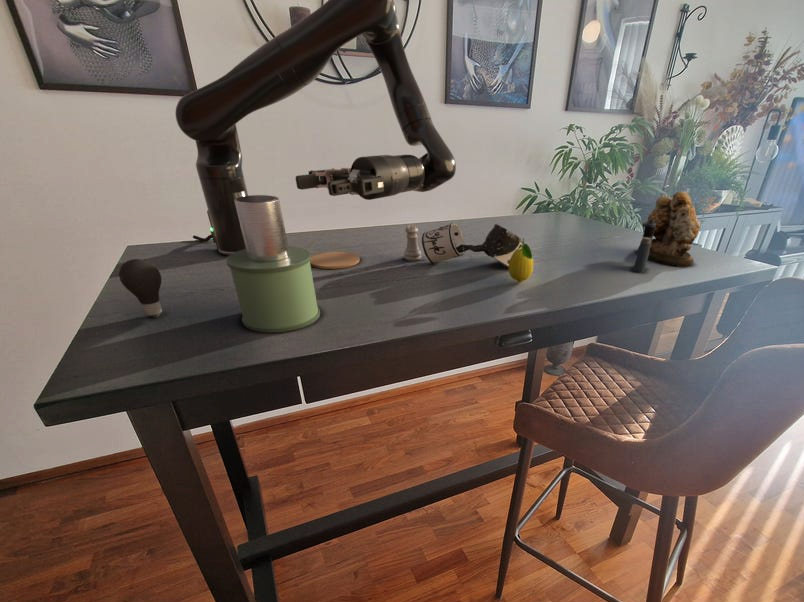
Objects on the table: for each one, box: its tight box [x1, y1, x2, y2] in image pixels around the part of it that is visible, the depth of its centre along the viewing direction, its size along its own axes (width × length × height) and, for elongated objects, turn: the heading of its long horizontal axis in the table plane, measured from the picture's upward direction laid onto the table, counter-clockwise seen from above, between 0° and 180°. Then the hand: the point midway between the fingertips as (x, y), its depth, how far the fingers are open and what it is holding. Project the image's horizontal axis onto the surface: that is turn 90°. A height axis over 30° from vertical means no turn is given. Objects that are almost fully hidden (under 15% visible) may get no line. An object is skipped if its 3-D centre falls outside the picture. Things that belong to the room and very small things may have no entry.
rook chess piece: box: [403, 224, 422, 262], centre depth 109 cm, size 4×4×8 cm
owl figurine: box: [637, 190, 701, 267], centre depth 118 cm, size 18×12×17 cm, turn 27°
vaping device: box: [633, 219, 656, 274], centre depth 109 cm, size 3×5×12 cm, turn 155°
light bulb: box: [118, 258, 163, 318], centre depth 75 cm, size 6×6×10 cm
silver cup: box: [234, 194, 290, 262], centre depth 71 cm, size 6×6×9 cm
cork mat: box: [310, 251, 361, 270], centre depth 107 cm, size 12×12×1 cm
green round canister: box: [225, 245, 321, 334], centre depth 77 cm, size 13×13×11 cm
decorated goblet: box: [421, 222, 526, 268], centre depth 107 cm, size 25×10×10 cm, turn 92°
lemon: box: [508, 237, 534, 284], centre depth 97 cm, size 7×6×10 cm
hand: (313, 185), depth 76 cm, fingers open, 8 cm apart
